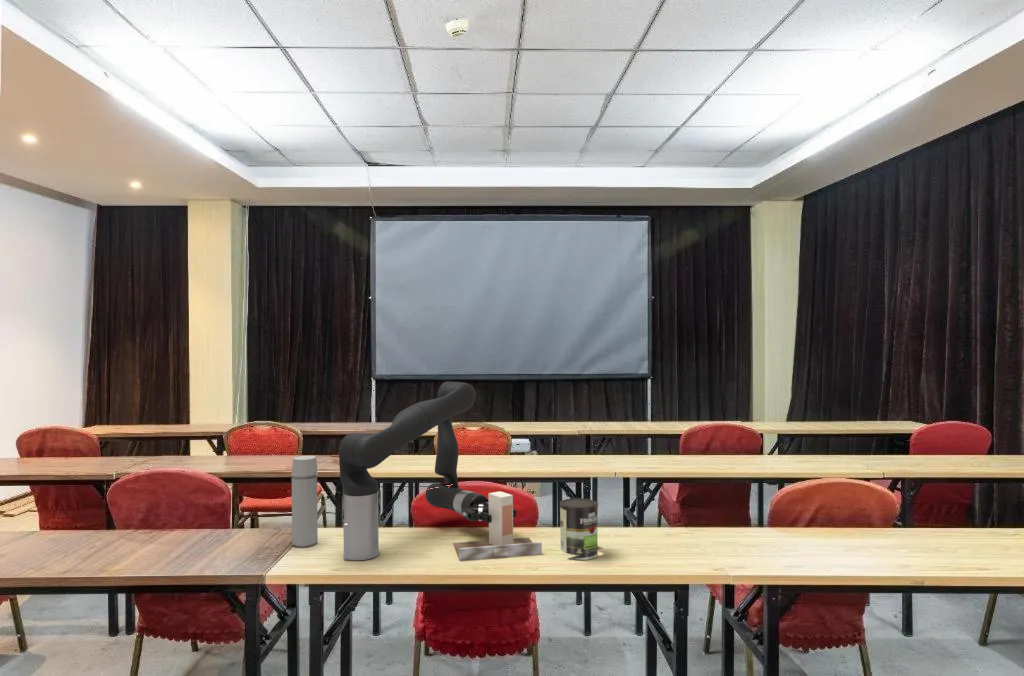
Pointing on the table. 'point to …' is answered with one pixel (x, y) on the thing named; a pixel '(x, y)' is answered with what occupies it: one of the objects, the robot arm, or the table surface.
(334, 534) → the table surface
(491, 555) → the grey tray
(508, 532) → the tea box
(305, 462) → the water bottle
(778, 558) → the table surface
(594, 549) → the coffee can
